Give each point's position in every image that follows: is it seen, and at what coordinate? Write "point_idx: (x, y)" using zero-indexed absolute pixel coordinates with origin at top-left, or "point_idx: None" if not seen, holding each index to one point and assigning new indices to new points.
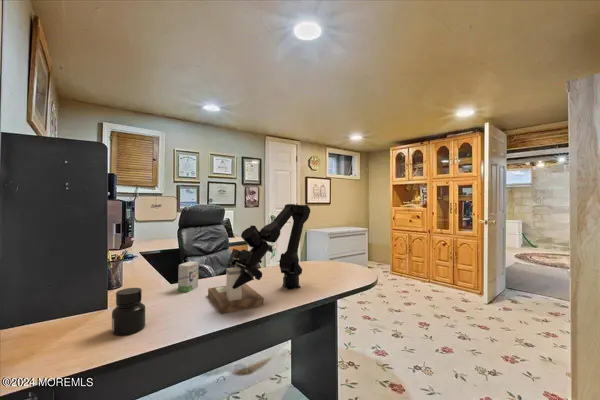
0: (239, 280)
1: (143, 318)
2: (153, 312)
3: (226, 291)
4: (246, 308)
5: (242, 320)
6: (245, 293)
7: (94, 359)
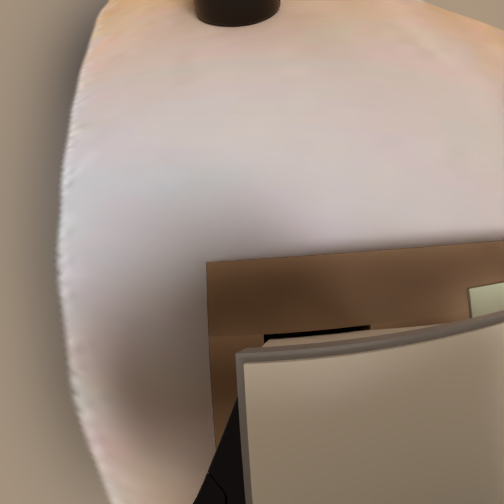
0: (212, 482)
1: (213, 1)
2: (359, 42)
3: (380, 329)
4: None
5: (84, 353)
6: None
7: (123, 9)
